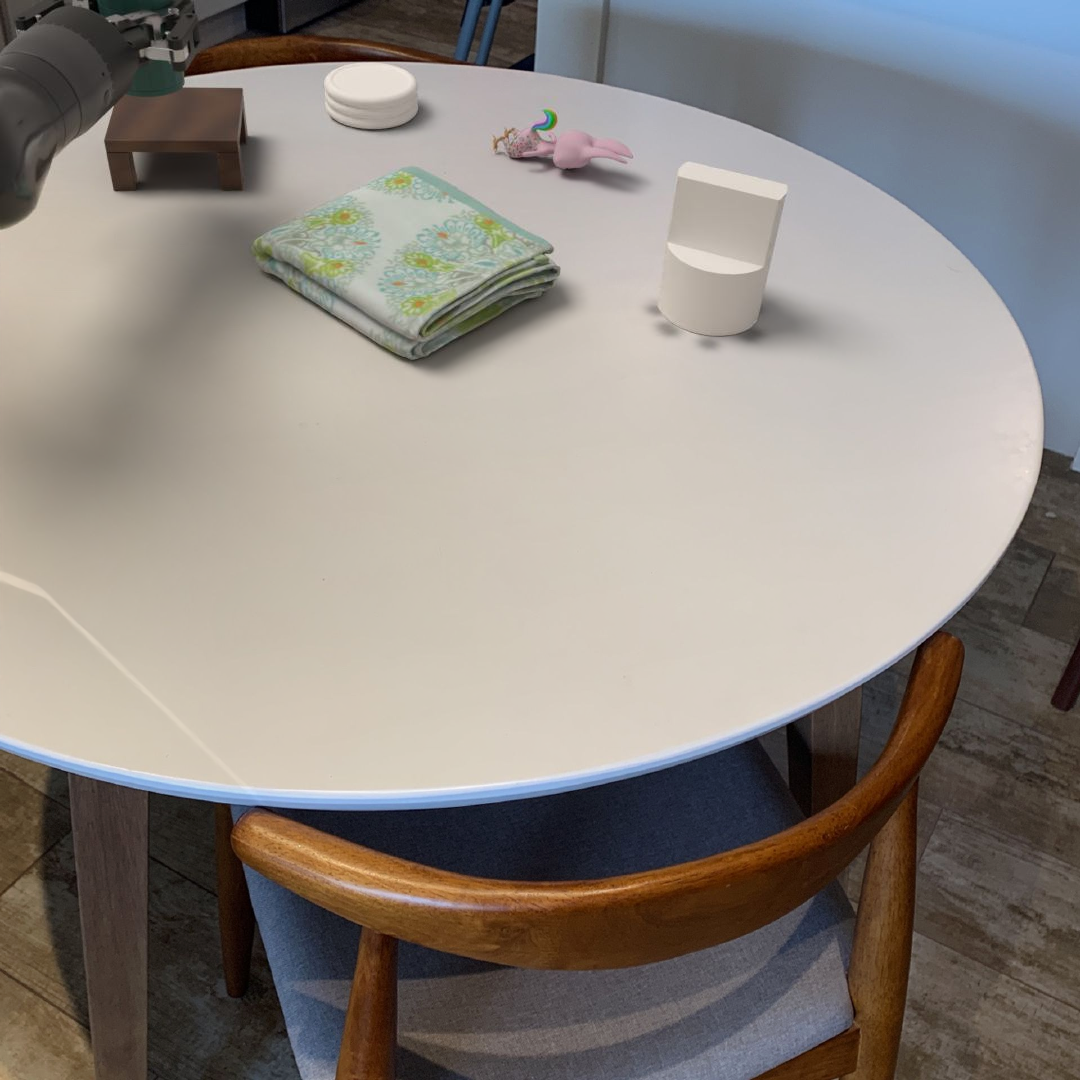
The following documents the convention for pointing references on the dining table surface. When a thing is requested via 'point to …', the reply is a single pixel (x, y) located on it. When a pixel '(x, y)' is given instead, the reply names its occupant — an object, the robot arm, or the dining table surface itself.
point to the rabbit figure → (561, 145)
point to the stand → (178, 131)
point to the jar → (158, 73)
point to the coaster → (371, 95)
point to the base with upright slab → (719, 249)
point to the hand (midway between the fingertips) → (148, 1)
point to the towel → (408, 261)
